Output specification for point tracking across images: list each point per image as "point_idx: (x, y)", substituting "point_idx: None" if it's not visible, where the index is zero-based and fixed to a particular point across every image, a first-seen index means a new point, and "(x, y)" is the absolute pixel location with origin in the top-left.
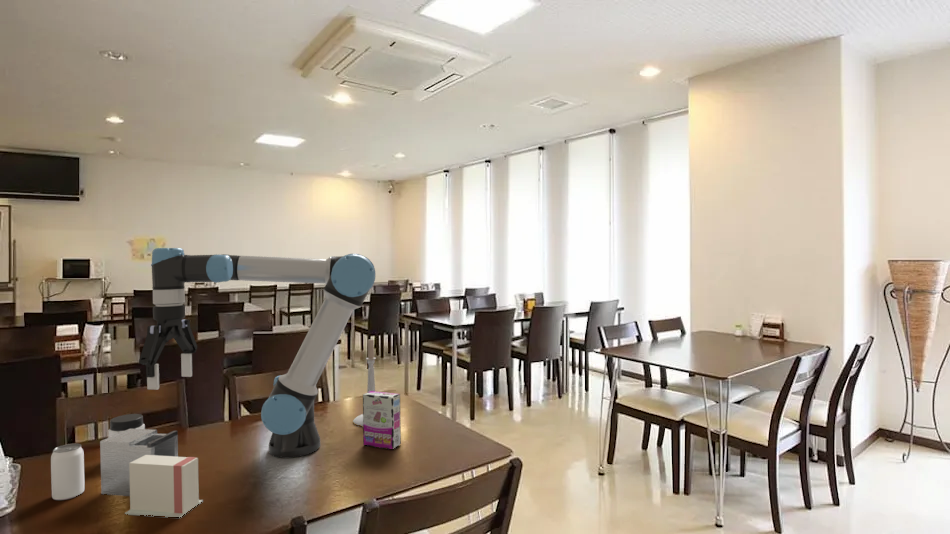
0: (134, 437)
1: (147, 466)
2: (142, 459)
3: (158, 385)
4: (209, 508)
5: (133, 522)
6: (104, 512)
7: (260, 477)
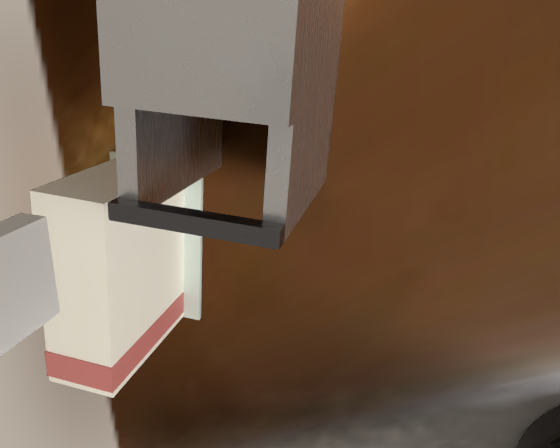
0: (167, 80)
1: None
2: (64, 219)
3: (27, 328)
4: (171, 345)
5: None
6: None
7: (355, 415)
